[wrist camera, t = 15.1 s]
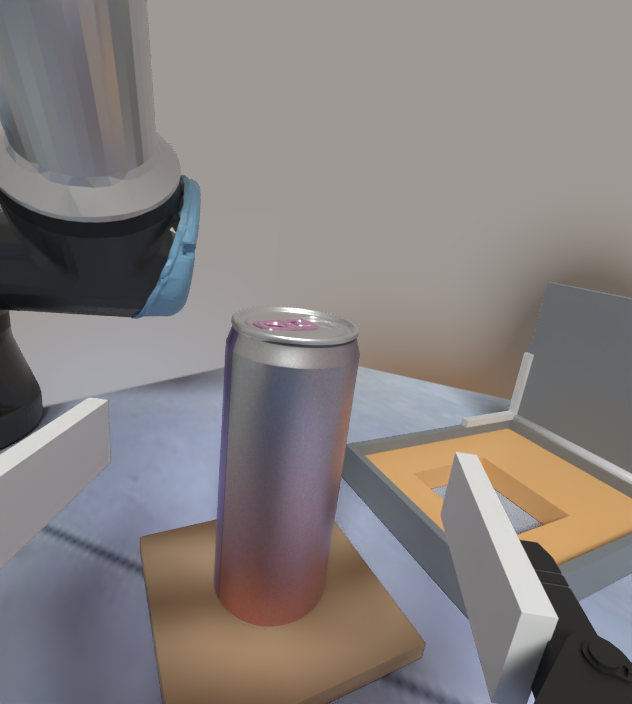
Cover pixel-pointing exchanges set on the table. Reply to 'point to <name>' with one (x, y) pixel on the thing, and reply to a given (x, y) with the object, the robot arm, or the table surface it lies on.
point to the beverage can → (281, 459)
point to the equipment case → (530, 450)
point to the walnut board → (267, 630)
